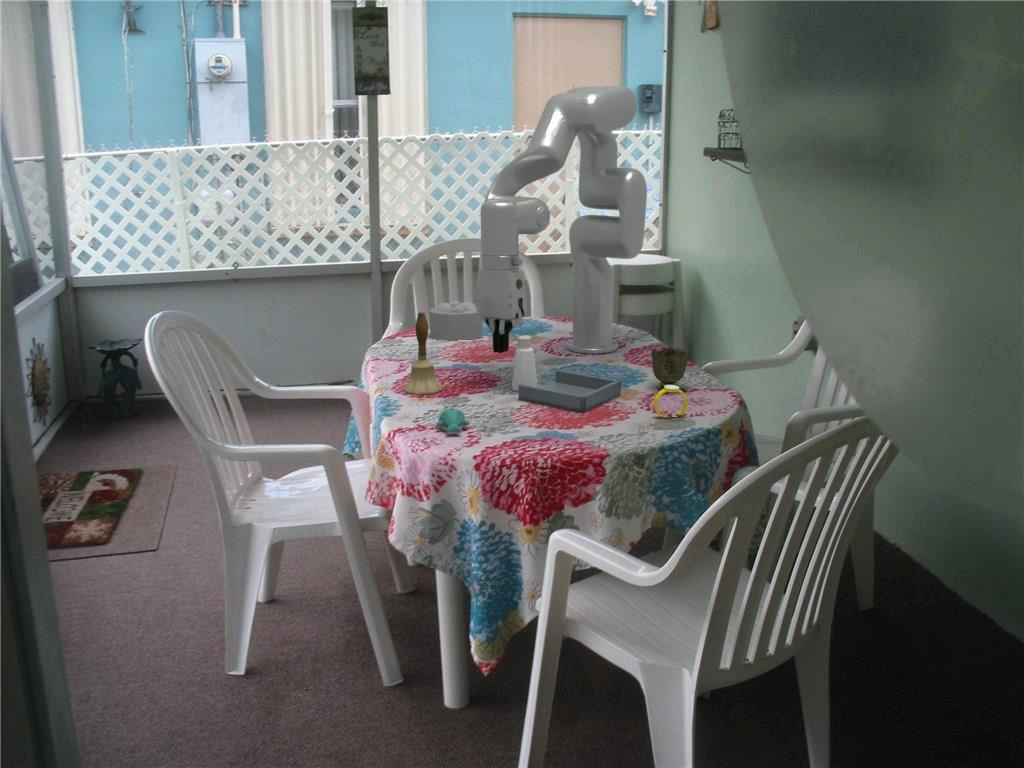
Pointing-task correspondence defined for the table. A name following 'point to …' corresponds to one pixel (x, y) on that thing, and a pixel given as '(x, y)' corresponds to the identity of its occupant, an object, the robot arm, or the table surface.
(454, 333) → the lumpy-topped squat cylinder
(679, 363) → the cup
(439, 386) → the hand bell
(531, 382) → the pepper shaker
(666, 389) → the watch
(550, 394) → the tray
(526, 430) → the table surface
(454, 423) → the whale figurine
